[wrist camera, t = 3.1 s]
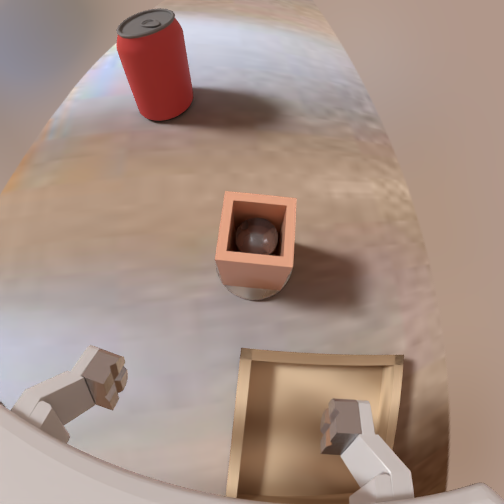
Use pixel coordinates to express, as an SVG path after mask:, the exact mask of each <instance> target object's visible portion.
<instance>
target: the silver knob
mask: <svg viewBox="0 0 504 504" xmlns="http://www.w3.org/2000/svg"><path fill="white" fill-rule="evenodd" d="M235 239H236V246H235V252H242V253H252V254H262V255H272V256H276V245H277V242H278V234H277V231H276V228H275V227H274V225H273V224H272V223H271V222H269V221H268V220H266V219H263V218H250V219H247V220H245V221H244V222H242V223H241V224H240V225H239V227H238V229H237V231H236V235H235ZM216 269H217V273H218V276H219V278H220V280H221V282H222V279H221V276H220V273H219V270H218V267H217V264H216ZM292 269H293V268H292ZM291 273H292V270H291V272H290V274H289V275H288V277H287V279H286V281H285V283H284V285H283V286H282V288H283V287H284V286H285V285H286V283H287V281H288V280H289V278H290V275H291ZM222 283H223V282H222ZM224 286H225V287H226V288H227V289H228V290H229V291H230V292H231V293H233V294H234V295H236V296H238V297H240V298H243V299H247V300H262V299H266V298H269V297H271V296H273V295H275V294H276V293H278V292H279V290H269V289H258V288H248V287H239V286H229V285H224ZM282 288H281V289H282Z"/></svg>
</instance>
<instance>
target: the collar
mask: <svg viewBox="0 0 504 504" xmlns="http://www.w3.org/2000/svg"><path fill="white" fill-rule="evenodd" d="M296 199H297V198H289V197H280V196H270V195H260V194H250V193H239V192H227V191H225V196H224V202H223V209H222V215H221V222H220V228H219V235H218V242H217V249H216V256H215V261H216V264H217V267H218V270H219V273H220V276H221V279H222V282H223V285H229V286H239V287H248V288H258V289H269V290H279V291H280V290H281V288H282V286H283V285H284V283H285V281H286V279H287V277H288V275H289V274H290V272H291V270H292V268H293V258H294V240H295V221H296ZM250 218H263V219H266V220H268V221H269V222H271V223H272V224H273V225H274V227H275V228H276V231H277V234H278V242H277V245H276V256H272V255H262V254H252V253H242V252H235V246H236V239H235V235H236V231H237V229H238V227H239V225H240V224H241V223H242V222H244V221H245V220H247V219H250Z"/></svg>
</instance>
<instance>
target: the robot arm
mask: <svg viewBox="0 0 504 504" xmlns="http://www.w3.org/2000/svg"><path fill="white" fill-rule="evenodd" d="M124 364H125V360H124V357H123V356H120V355H117V354H114V353H111V352H108V351H106V350H103V349H100V348H97V347H95V346H92V345H90V346H89V347H87V349H86V350H85V351H84V353H83V354H82V356H81V357H80V359H79V360H78V361H77V363H76V364H75V366H74V367H73V369H72V370H71V372H70V371H66V372H64V373H61V374H59V375H57V376H55V377H53V378H50V379H48V380H46V381H44V382H41V383H39V384H37V385H35V386H32V387H30V388H28V389H26V390H25V391H24V392H23V393H22V395H21V396H20V398H19V399H18V401H17V402H16V403H15V405H14V406H13V408H12V409H11V411H10V410H8V409H7V408H5V407H4V406H3V405H1V404H0V504H282V503H271V502H261V501H253V500H246V499H239V498H233V497H227V496H221V495H216V494H211V493H206V492H201V491H197V490H193V489H189V488H185V487H181V486H177V485H173V484H170V483H166V482H163V481H159V480H156V479H153V478H150V477H146V476H143V475H140V474H138V473H135V472H132V471H129V470H126V469H124V468H121V467H118V466H116V465H113V464H111V463H108V462H106V461H103V460H101V459H99V458H96V457H94V456H92V455H89V454H87V453H85V452H83V451H81V450H79V449H77V448H75V447H72V446H70V445H68V444H67V442H68V440H69V438H70V435H69V433H68V432H67V430H66V429H65V427H64V425H65V424H67V423H68V422H70V421H71V420H73V419H74V418H76V417H78V416H79V415H81V414H82V413H84V412H85V411H87V410H88V409H90V408H91V407H93V406H94V405H95V404H96V405H99V406H102V407H105V408H107V409H110V410H113V409H114V407H115V405H116V403H117V401H118V400H119V396H118V393H119V392H121V391H123V390H124V388H125V386H126V382H127V379H128V373H127V369H126V368H125V367H124ZM328 404H329V408H327V409H325V410H324V412H323V414H322V418H321V423H320V431H321V432H322V434H323V437H322V438H321V440H320V448H321V454H329V455H341V458H342V460H343V461H344V463H345V464H346V466H347V467H348V469H349V471H350V472H351V474H352V475H353V477H354V478H355V480H356V482H357V483H358V485H359V486H360V489H359V490H357V491H356V492H355V493H353V494H352V495H351V496H350V497H349V504H504V499H503V498H502V497H501V496H500V495H498V494H497V493H496V492H495V491H494V490H493V489H492V488H491V487H489V486H488V485H486V484H485V483H477V484H472V485H469V486H466V487H462V488H458V489H455V490H451V491H446V492H442V493H437V494H432V495H427V496H422V497H416V498H414V491H413V484H412V477H411V471H410V470H409V469H408V468H407V467H406V466H405V464H404V463H403V462H402V461H401V460H400V459H399V458H398V456H397V455H396V454H395V453H394V452H393V451H392V450H391V448H390V447H389V446H388V445H387V444H386V443H385V442H384V440H383V439H382V438H381V437H380V436H379V435H377V434H375V430H374V424H373V418H372V412H371V406H370V402H369V401H365V400H352V399H335V398H332V399H331V400H330V402H329V403H328Z"/></svg>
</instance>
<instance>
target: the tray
mask: <svg viewBox="0 0 504 504" xmlns="http://www.w3.org/2000/svg"><path fill="white" fill-rule="evenodd" d="M403 361H404V355H339V354H314V353H296V352H282V351H269V350H258V349H247V348H241V355H240V364H239V374H238V383H237V393H236V402H235V412H234V421H233V431H232V441H231V450H230V460H229V470H228V479H227V489H226V496H227V497H233V498H239V499H246V500H253V501H261V502H271V503H282V504H349V497H350V496H351V495H352V494H353V493H355V492H356V491H357V490H359V489H360V486H359V485H358V483H357V482H356V480H355V478H354V477H353V475H352V474H351V472H350V471H349V469H348V467H347V466H346V464H345V463H344V461H343V460H342V458H341V455H329V454H321V448H320V440H321V438H322V437H323V434H322V432H321V431H320V423H321V418H322V414H323V412H324V410H325V409H327V408H329V404H328V403H329V402H330V400H331V399H332V398H335V399H352V400H365V401H369V402H370V406H371V412H372V418H373V424H374V430H375V434H377V435H379V436H380V437H381V438H382V439H383V440H384V442H385V443H386V444H387V445H388V446H389V447H390V448H391V450H392V451H393V445H394V439H395V433H396V427H397V420H398V412H399V404H400V396H401V386H402V375H403Z"/></svg>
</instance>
